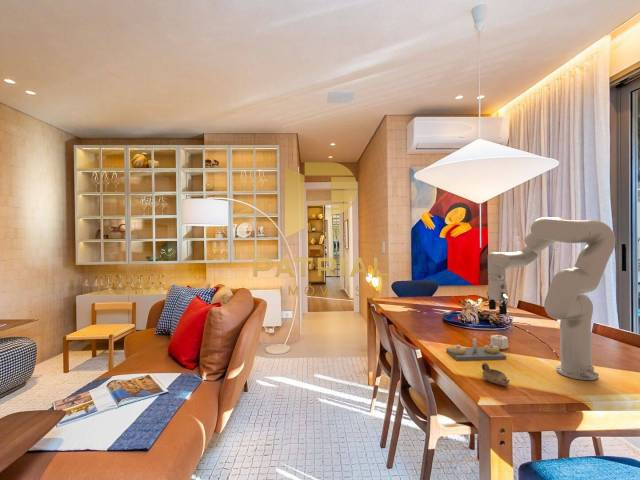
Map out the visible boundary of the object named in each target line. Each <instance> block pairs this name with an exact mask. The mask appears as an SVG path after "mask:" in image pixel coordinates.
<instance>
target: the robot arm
mask: <svg viewBox="0 0 640 480" xmlns="http://www.w3.org/2000/svg"><path fill="white" fill-rule="evenodd" d="M555 242H558V243H564V244H565V243H566V244H584V243H585V246H584V247H583V248H582V249H581V251H580V252H579V254H578V256H577V259H576V262H575V264H574V266H573V267H571V268H564V269H561V270H559V271H558V272H557V273H555V275H554V276H553V277H552V280H551V282H550V285H549V288H548V291H547V293H546V296H545V299H544V303H543V307H544V310H545V312H546V314H547V315H548V317H550V318H551V319H554V320H560V322H559V340H560V341H559V342H560V343H559V347H560V365H557V366H556V372H557V373H559V374H560V375H562V376H564V377H567V378H571V379H575V380H581V381H594V380H597V379H598V378H599V375H600V374H599V373H598V372H596V371H595V367H594V366H593V357H592V355H593V353H592V350H593V349H592V330H591V329H592V320H593V319H592V318H593V314H594V304H593V302H592V300H591V299H590V297H589V296H587V295H586V293H591V292H593V291H595V290H597V288H598V286H599V284H600V282H601V279H602V277H603V275H604V273H605V270H606V268H607V265H608V262H609V260H610V257H612V256H611V255H612V253H613V252H614V249H615V246H616V234H615V233H614V231H613V230H612V228H611V227H610V226H609V225H608V224H607V223H605V222H602V221H600V220H594V219H581V220H580V219H576V220H574V219H564V218H563V217H556V216H554V217H553V216H552V217H551V216H550V217H549V216H546V217H545V216H544V217H539V218H537V219H534V221H533V222H532V223H531V226H530V232H529V233H528V234H527V235H525V236H524V243H525V245H526V246H524V247H523V248H522V249H520V250H519V251H509V252H508V251H507V252H503V251H501V252H500V251H492V252H489V253H488V254H487V274H488V275H487V280H488V285H487V288H488V289H487V292H486V293H487V298H488V299H487V300H488V309H489V310H491V311H493V310H494V311H495V310H496V309H497V304H496V303H497V302H498V303H499V305H498V306H499V307H498V309H499V310H498V311H499V312H498V313H499V315H507V314H508V312H507V310H508V303H509V295H508V285H507V281H506V278H507V277H506V269H515V268H523V267H526V266H528V265H530V264H531V263H533V262H534V261H536V260H537V259H538V258H539V257H540V256H541V254H542V251H544V250H545V249H546V248H548V247H549V246H551V245H553V244H554V243H555Z"/></svg>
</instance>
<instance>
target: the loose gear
mask: <svg viewBox="0 0 640 480" xmlns="http://www.w3.org/2000/svg"><path fill="white" fill-rule="evenodd" d="M508 341H509V340H508V336H505V335H500V334H493V335H490V342H491V344H493V345H494V346H497V347H499V350H506V349H508V348H509V343H508Z"/></svg>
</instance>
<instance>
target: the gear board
mask: <svg viewBox="0 0 640 480" xmlns="http://www.w3.org/2000/svg"><path fill="white" fill-rule="evenodd" d="M477 340H478V339H477V338H472V347H471V346H470V347H465V346H462V345H461V344H456V345H453V346H452V345H451V347H447V348H446V352H447V353H448V354H449V355H450V356H451V357H452V358H453V359H454V360H456V361H458V362H459V360H460V361H489V360H490V361H492V360H507V355H506V354H504V353H503V352H501V351H500V349H499V347H497V346H494V345H493V344H491V340H488V341H487V344H485V345H484V346H478V345H477V343H478V342H477Z"/></svg>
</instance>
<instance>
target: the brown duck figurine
mask: <svg viewBox="0 0 640 480" xmlns="http://www.w3.org/2000/svg"><path fill="white" fill-rule="evenodd" d="M481 369H482V375H483V378H484V380H486V381H487V382H489V383H493V384H495V385H498V386H503V387H505V386H507V385H508V384H509V383H510V379H507V378H508V376H506V374H505V373H504V372H502V371H500V370H497V369H492V368H490V366H489V364H488V363H487V362H482V364H481Z"/></svg>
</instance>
